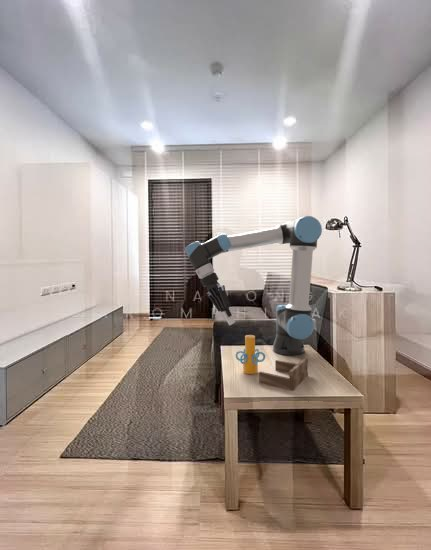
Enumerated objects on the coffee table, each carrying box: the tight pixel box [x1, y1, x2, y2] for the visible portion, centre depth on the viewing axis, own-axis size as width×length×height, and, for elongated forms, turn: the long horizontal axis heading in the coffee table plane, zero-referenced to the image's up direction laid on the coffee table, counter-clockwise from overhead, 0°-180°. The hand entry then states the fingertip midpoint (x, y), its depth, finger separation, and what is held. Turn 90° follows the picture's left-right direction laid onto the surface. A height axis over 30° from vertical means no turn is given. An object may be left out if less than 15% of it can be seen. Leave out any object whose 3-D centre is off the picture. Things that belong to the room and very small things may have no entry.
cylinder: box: [235, 334, 266, 375], centre depth 130 cm, size 12×10×15 cm
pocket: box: [258, 357, 309, 392], centre depth 122 cm, size 16×13×7 cm
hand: (232, 323), depth 137 cm, fingers closed
